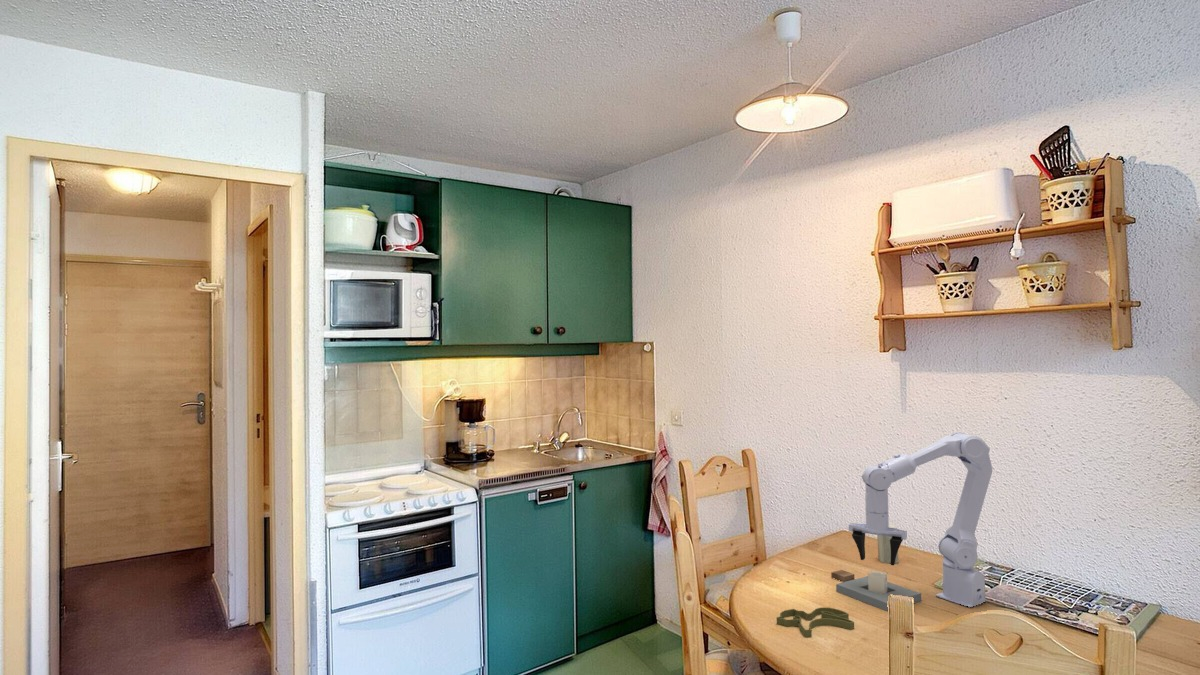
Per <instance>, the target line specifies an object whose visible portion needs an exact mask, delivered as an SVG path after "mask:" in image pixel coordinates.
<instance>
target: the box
mask: <svg viewBox="0 0 1200 675" xmlns="http://www.w3.org/2000/svg"><path fill="white" fill-rule="evenodd" d="M889 527H890V528H895V529H898V527H896V526H895V525H893V524H889ZM876 536H877V537H876V539H877V559H878V560H879V561H880V563H882V564H891V547H890V539H891V538H892V537H888V536H881V535H876ZM895 564H899V551H898V552H897V555H896V560H895Z"/></svg>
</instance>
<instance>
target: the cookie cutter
mask: <svg viewBox="0 0 1200 675" xmlns="http://www.w3.org/2000/svg"><path fill="white" fill-rule="evenodd" d="M849 614H850V613H848V612H846V611H843V610H840V609H837V608H832V607H818V608H815V609H814V610H812V611H811V612H809V613H807V612H806V611H805V610H798V609H797V610H796V609H795V608H790V609H786V610H783V611H781V612H780V613H779V616H776V625H778V626H783V627H788V628H791V627H795V628H799V631H800V633H801V635H802V636H803V637H804V638H813V637H812V634H813V633H812V629H814V628H816V627H822V626H828V627H829V626H830V627H837V628H841V629H842V628H843V629H845V630H848V631H851V630H854V629H855V621H853V620H850V616H849ZM819 615H820V616H821V618H816V617H818V616H819ZM789 617H792V618H791V619H786V618H789ZM802 618H803V620H805V621H810V622H809V623H808V629H806V628H805V627H804V625H803V624H802ZM814 618H816V619H814Z"/></svg>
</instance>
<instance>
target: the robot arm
mask: <svg viewBox="0 0 1200 675" xmlns="http://www.w3.org/2000/svg"><path fill="white" fill-rule="evenodd" d="M990 449H991V448H990V446H988V444H987V443H986V442H985V441H984V440H983V439H982V438H981V437H979V436H977V435H970V434H966V433H964V432H958V431H957V432H954V433H951V434H950V435H946V436H943V437H941V438H940V439H939V440H936V441H935V442H933V443H930V444H929V445H927V446H926V447H923V448H922V449H919V450H917V451H915V452H914V453H911V454H910V455H908V454H905V453H901V454H900V453H895V454H893V457H892V458H890V459H887V460H886V461H879V462H877V465H870V466H868V467H866V468H865V469H864V471H863V474H862V475H861V478H862V482H864V484H865V493H864V495H865V523H852V522H850V523H848V532H851V533H852V534H851V536H852V539H853V541H854V543H855V545H856V548H857V550H858V554H859V558H860V561H864V560H865V559H866V549H865V546H866V545H865V544H866V543H865V542H866V534H869V535H874V536H875V535H876V536H877V535H881V536H888V537H892V538H891V539H890V547H891V563H890V566H895V564H896V563H895V560H896V555H897V552H898V553H899V549H900V546H901V544H902V543H903V541H904V540H907V538H908V530H904V529H903V530H902V529H898V528H897V529H895V528H890V527H889V525H890V524H889V523H890V522H889V521H890V520H889V490H888V489H889V488H890V487H891V485H892V483H895V482H897V481H899V480H902V479H904V478H907V477H908V476H910V475H913V474H915V472H916V469H917V467H919V466H922V465H925V464H926V463H929V462H932V461H934V460H936V459H939V458H942V457H944V456H948V457H957V459H959V460H960V461H961V462H962V464H963V465H964V467H965V469H967V473H966V477H965V480H964V483H963V488H962V491H961V495H960V496H959V497H960V498H959V501H958V506H957V507H956V512H955V515H954V519H953V523H952V525H951V526H950V527H949V528H947V529H946V531H945V534H944V536H943V537H941V539H940V540H939V543H938V545H937V546H938V551H939V553H940V554H941V555H942V592H940V593H936V595H935V596H936V597H938V598H941V599H942V600H946V601H948V602H952V603H955V604H958V605H960V604H961V606H963V605H964V607H966V606H968V607H967V608H970V607H971V608H974V607H977V606H979V605H978V604H980V603H983V602H985V600H986V578H985V575H984V573H983V572H982V571H979V570H977V569H976V568H975V567H974V566H975V565H976V564H977V562H978V559H979V558H978V552H977V551H978V550H977V549H978V546H979V544H978V540H977V537H976V535H975V533H976V530H977V526H978V523H979V520H980V516H981V512H982V509H983V505H984V502H985V498H986V495H987V491H988V488H989V484H990V481H991V477H992V475H993V466H992V461H991V457H990V454H989V453H990ZM983 604H984V603H983ZM976 605H977V606H976ZM980 605H981V604H980ZM973 606H974V607H973Z"/></svg>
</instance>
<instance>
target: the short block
mask: <svg viewBox="0 0 1200 675" xmlns="http://www.w3.org/2000/svg"><path fill="white" fill-rule="evenodd" d="M830 575H831V578H830V579H833V578H835V579H834V580H836V579H837V580H836V581H838V580H840V581H839V582H841V581H843V582H846V581H850V580H854V579H855V573H853V572H849V571H846V570H843V569H840V570H836V571H831V574H830ZM843 582H842V583H843Z"/></svg>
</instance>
